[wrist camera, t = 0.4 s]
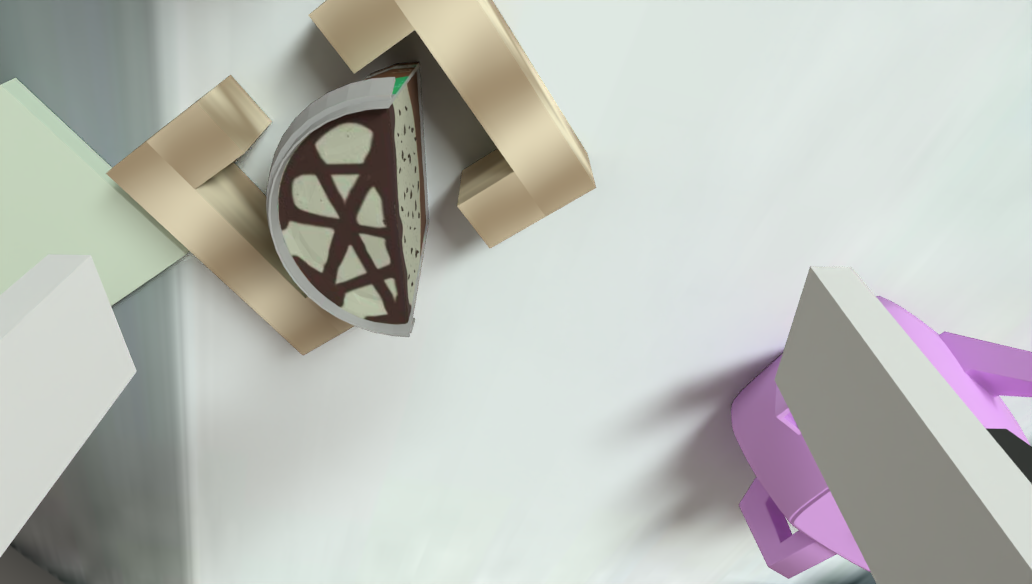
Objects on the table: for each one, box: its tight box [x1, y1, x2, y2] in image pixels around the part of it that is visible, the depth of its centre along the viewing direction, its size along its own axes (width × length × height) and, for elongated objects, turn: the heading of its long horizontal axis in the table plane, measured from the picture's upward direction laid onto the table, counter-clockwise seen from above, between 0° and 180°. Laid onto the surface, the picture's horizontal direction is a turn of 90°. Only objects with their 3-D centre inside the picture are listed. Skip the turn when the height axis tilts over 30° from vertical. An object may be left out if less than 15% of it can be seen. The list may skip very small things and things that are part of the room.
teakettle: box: [731, 296, 1032, 579], centre depth 42 cm, size 17×17×12 cm
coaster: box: [0, 78, 189, 306], centre depth 39 cm, size 12×14×1 cm
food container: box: [266, 62, 429, 337], centre depth 32 cm, size 12×6×10 cm, turn 179°
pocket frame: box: [106, 0, 596, 355], centre depth 35 cm, size 14×20×4 cm
